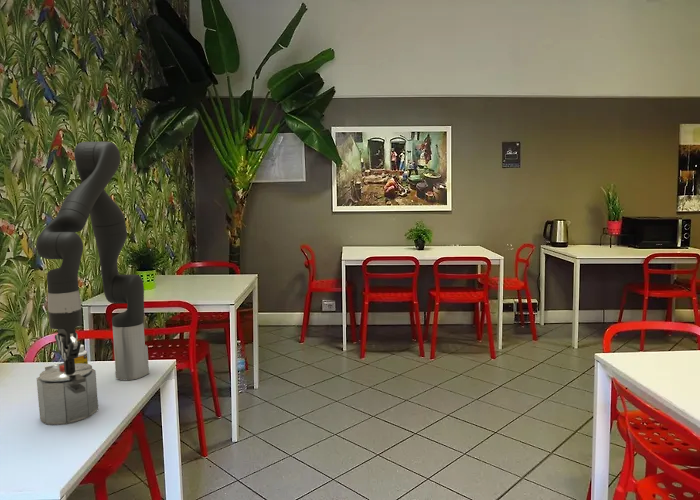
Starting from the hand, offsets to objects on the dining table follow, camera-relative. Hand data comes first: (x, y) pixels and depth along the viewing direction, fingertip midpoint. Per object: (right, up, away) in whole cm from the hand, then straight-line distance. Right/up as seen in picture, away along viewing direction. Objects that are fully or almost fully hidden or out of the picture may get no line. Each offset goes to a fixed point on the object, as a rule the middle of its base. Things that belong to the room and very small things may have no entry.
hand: (70, 372), depth 138 cm
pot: (-2, -12, +4) cm, 13 cm away
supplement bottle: (-14, -9, +32) cm, 36 cm away
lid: (-1, -1, +1) cm, 2 cm away
